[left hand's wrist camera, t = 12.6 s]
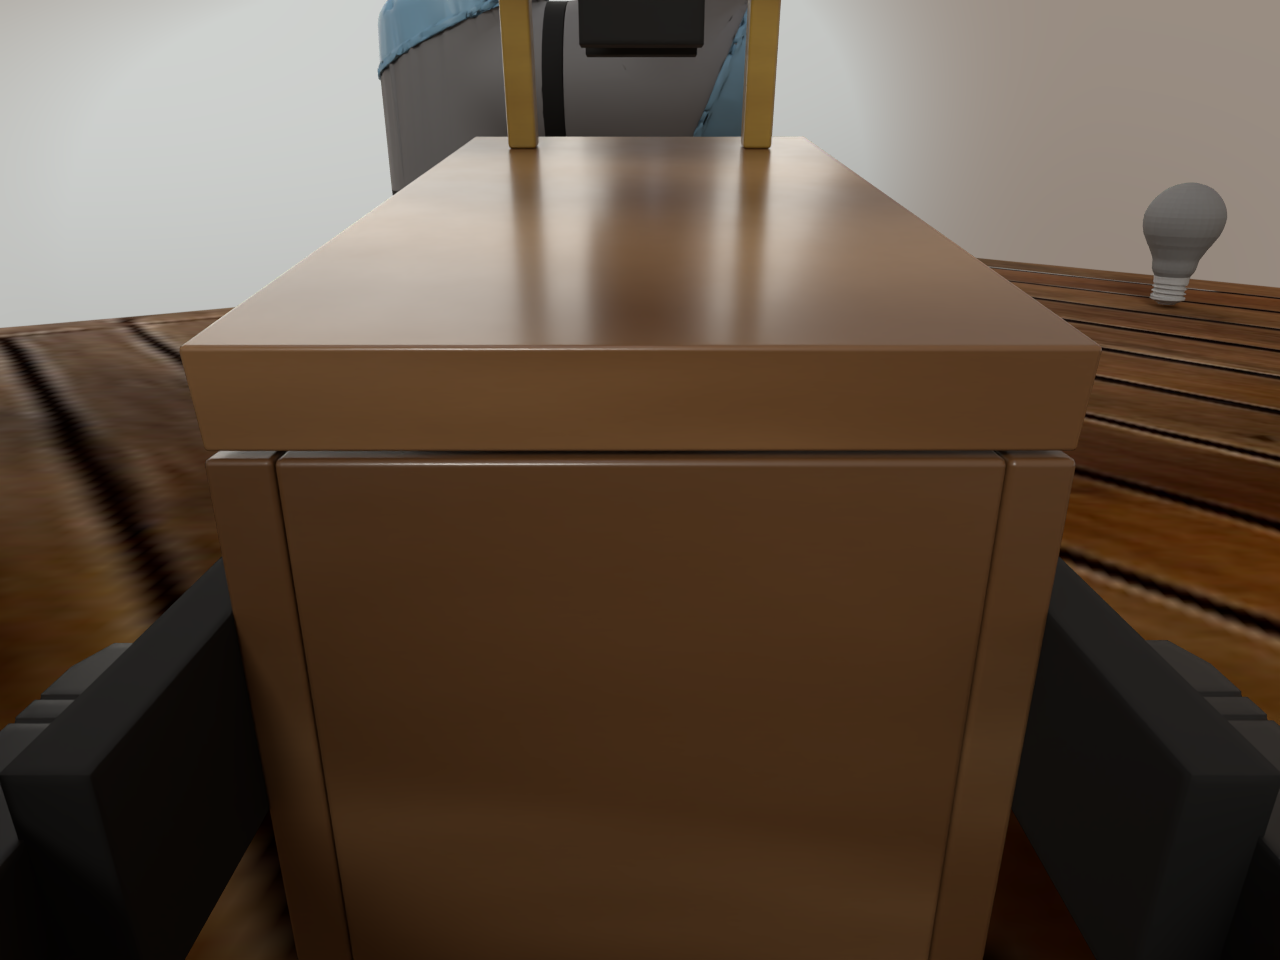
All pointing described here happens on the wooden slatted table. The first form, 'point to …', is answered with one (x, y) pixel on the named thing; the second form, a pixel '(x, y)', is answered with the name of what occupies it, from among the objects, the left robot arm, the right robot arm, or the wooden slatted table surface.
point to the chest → (640, 695)
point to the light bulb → (1181, 235)
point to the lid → (640, 307)
